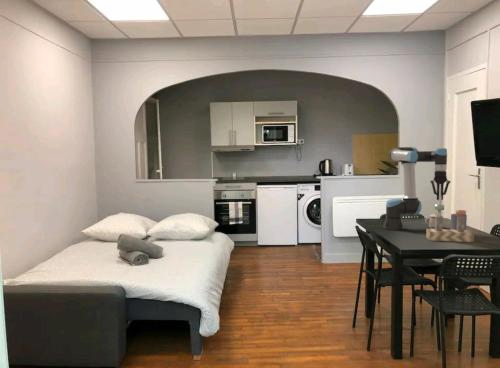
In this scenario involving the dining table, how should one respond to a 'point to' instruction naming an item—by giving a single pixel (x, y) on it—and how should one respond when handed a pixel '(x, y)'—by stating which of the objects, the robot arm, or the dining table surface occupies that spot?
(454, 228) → the container
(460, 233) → the press stand
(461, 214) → the terracotta plunger
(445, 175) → the robot arm
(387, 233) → the dining table surface
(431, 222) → the teacup with lid
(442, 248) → the dining table surface
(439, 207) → the sage plunger
